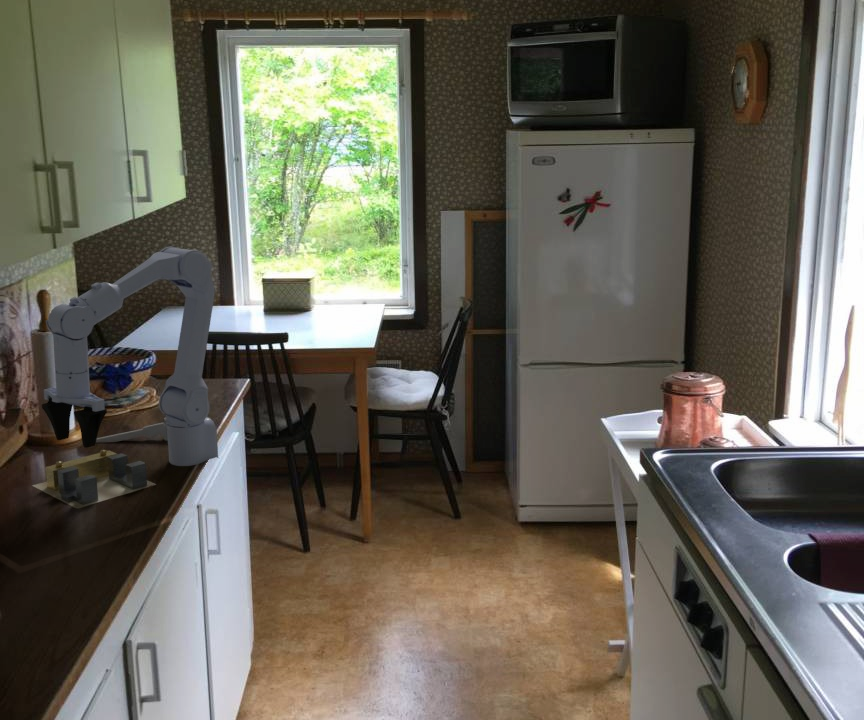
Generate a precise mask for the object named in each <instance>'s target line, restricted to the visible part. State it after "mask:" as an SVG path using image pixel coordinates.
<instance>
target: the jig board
mask: <svg viewBox="0 0 864 720" xmlns="http://www.w3.org/2000/svg"><path fill="white" fill-rule="evenodd" d="M156 485H157V483H155V482H152V481H149V480H147V486H144V487H141V488H138V489H134V490H132V489H130V488H128V487H126V486H123V485H121V484H119V483H117V482H114V481H112V480H110V479H109V476H106V477H103V478H99V479H97V490H98V501H95V502H92V503H88V504H85V505H82V504H80V503H78V502H76V501H72V502H69V503H68V502H66V501H64V500H62V499H61V494H60V492H59V490H57V491H54V490H52V489H50V488H48V487H47V481H44V482H39V483H37V484H33V485H31V487H34V488H36V489H37V490H39V491H42V492H43V493H45V494H47V495H49V496H51V497H53V498H54V499H57V500H59V501H60V502H63V503H64V504H66V505H68V506H71V507H72V508H75V509H76V510H78V509H81V508H85V507H88V506H91V505H95V504H97V503H98V504H99V503H100V502H103V501H107V500H111V499H113V498H117V497H118V498H119V497H120V496H124V495H126V494H131V493H134V492H137V491H140V490H143V489H146V488H150V487H153V486H156Z"/></svg>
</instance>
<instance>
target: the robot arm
mask: <svg viewBox="0 0 864 720" xmlns="http://www.w3.org/2000/svg"><path fill="white" fill-rule="evenodd" d="M212 268H213V263H212V262H211V261H210V259H209V258H208V257H207V256H206V254H205V253H203V252H202V251H201V250H198V249H186V248H179V247H175V246H165V247H164V248H162V249H161V250H160V251H157V252H154V253H152V254H151V256H150V257H149V258H148V259H147V260H145V261H144V262H142V263H140V264H139V265H138V266H136V267H135V268H134V269H132V270H131V271H129V272H128V273H126V274H125V275H123V276H122V277H121V278H119V279H118V280H116V281H115V282H113V283H109V282H106V281H103V282H95V283H92V284H90V285H91V289H89V290H88V291H86V292H84V293H82V294H81V295H79V296H78V297H75V296H74V297H71V298H70V299H69V303H68V304H65V303H64V304H58V305H56V306H54V307H53V308H52V309H51V310H50V312H49V314H48V318H47V320H45V324H46V327H47V329H48V331H49V332H50V333H51V335H52V341H53V356H54V357H53V359H54V374H55V375H54V376H55V387H50V388H46V389H43V400H45V401H47V402H46V403H42V404H41V408H42V411H44V413H45V414H46V415H47V418H48V419H49V422H50V424H51V427H52V429H53V432H54V435H55V438H56V440H57V441H62V440H66V439H69V437H70V430H71V429H70V425H71V424H70V421H71V420H70V419H71V413H72V409H73V406H77V407H80V408H81V407H82V408H83V409H79V410H77V411H76V410H75V411H74V412H73V414H74V416H75V418H76V420H77V422H78V425H79V429H80V435H81V442H82V446H83V448H86V449H88V448H91V447H94V446H96V444H97V443H96V439H97V438H98V435H99V430H100V427H101V424H102V422H103V421H104V420H103V419H104V418H105V416H106V414H107V412H108V410H107V408H106V407H105V399H104V398H102V397H98V396H97V395H96V394H93V393H92V392H91V389H90V388H91V385H90V369H89V368H90V366H89V365H90V364H89V347H88V336H89V335H90V334H91V333H92V331H93V328H94V326H95V325H97V324H98V323H100V322H101V321H103V320H105V319H106V318H107V317H109V316H111V315H112V314H114V313H115V312H117V311H119V310H121V308H122V306H123V305H124V299H126V298H128V297H129V296H131V295H133V294H134V293H136V292H139V291H140V290H142V289H144V288H145V287H146V288H147V286H149V285H151V284H153V283H155V282H156V281H159V280H168V281H170V282H171V283H173V284H174V285H175V286H177V288H178V289H179V290H180V292H181V293H182V294H183V295H184V297H185V300H184V306H183V313H182V319H181V325H180V333H179V340H178V345H177V353H176V359H175V364H174V365H175V366H174V372H173V373H172V374H171V376H169V377H168V378H167V379H166V381H165V385H164V389H163V391H162V392H161V394H160V396H159V398H158V407H159V410H160V412H161V413H162V414H163V415H165V418H166V421H167V435H168V440H167V444H168V445H167V447H168V448H167V449H168V461H169V463H170V464H171V465H172V466H177V467H191V466H195V465H199V464H201V463H203V462H206V461H209V460H212V459H215V458H218V459H219V451H218V448H219V447H218V430H217V427H216V424H215V422H214V420H212V419H211V417H208V415H209V413H210V401H209V398H208V397H209V394H208V393H209V388H208V386H207V384H206V382H205V381H204V379H203V373H204V371H203V370H204V365H205V364H204V363H205V358H206V352H207V345H208V338H209V333H210V326H211V322H212V321H211V319H212V314H213V313H212V312H213V307H214V301H215V295H216V294H215V291H216V290H215V286H214V281H213V278H212V277H213V276H212V270H213V269H212Z"/></svg>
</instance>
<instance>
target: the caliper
mask: <svg viewBox="0 0 864 720" xmlns="http://www.w3.org/2000/svg"><path fill="white" fill-rule="evenodd" d="M163 420H164V422H163V421H162V422H158V423H155V424H151V425H150V424H149V425H145V426H143V427H142V428H140V429H135V430H131V431H126V432H120V433H116V434H110V435H107V436H106V435H105V436H102V437H97V439H96V444H98V443H117V442H121V441H122V442H123V441H126V440H130V439H136V438H142V437H145V439H146V440H148V439H151V438H156V437H157V436H159V435H161V437H162V439H163V440H164V441H168V435H167V421H166V417H164V418H163Z"/></svg>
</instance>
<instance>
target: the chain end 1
mask: <svg viewBox="0 0 864 720" xmlns="http://www.w3.org/2000/svg"><path fill="white" fill-rule="evenodd" d="M57 471H58V482H59V492H60V494H61V499H62V500H64V501H66V502H68V503H69V502H72V501H76V502H78V503H80V504H82V505H85V504H88V503H92V502H95V501H98V490H97V478H96V477H95V476H93V475H87V476H83V477H80V478H79V471H78V468H75V467H73V466H72V467H68V468H65V469H61V470H57Z"/></svg>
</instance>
